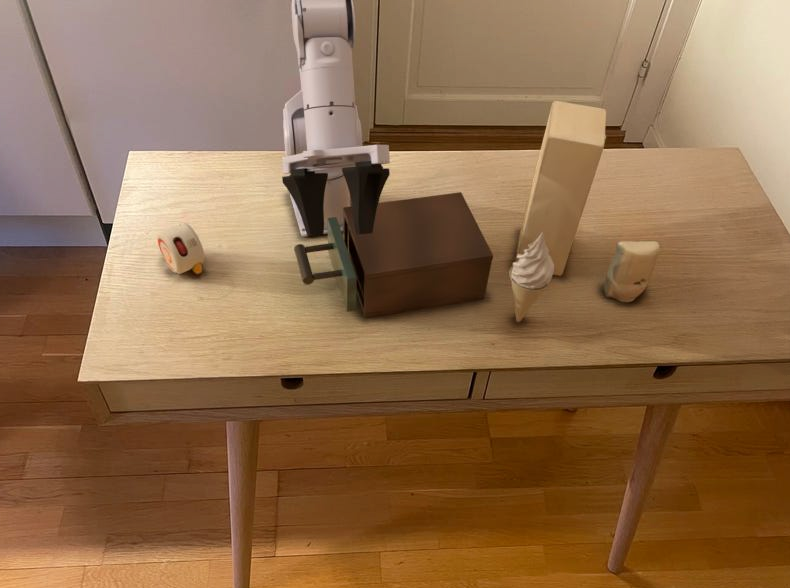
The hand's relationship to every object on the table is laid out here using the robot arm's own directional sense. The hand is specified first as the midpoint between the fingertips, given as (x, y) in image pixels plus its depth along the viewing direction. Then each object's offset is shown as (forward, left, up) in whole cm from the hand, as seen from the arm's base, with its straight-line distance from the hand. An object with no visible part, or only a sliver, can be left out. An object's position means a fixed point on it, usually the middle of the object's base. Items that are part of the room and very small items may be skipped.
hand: (339, 234), depth 86 cm
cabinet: (-5, +11, -13) cm, 17 cm away
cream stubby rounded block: (+4, +38, -13) cm, 40 cm away
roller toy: (-13, -18, -13) cm, 26 cm away
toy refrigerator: (-5, +30, -13) cm, 33 cm away
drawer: (-5, +6, -12) cm, 14 cm away
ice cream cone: (+6, +22, -13) cm, 26 cm away
